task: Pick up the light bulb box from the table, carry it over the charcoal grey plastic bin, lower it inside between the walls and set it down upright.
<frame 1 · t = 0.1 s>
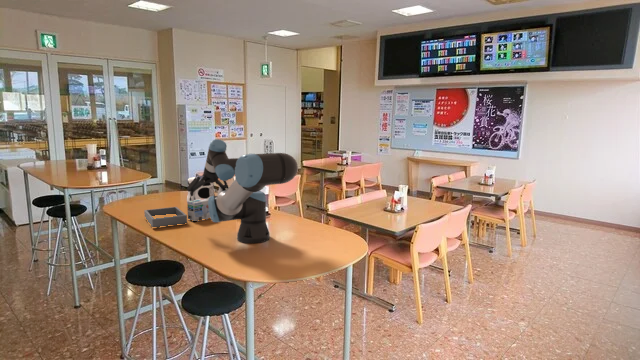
hand: (205, 198, 198), 15 cm above the table, tool tilted 35°, fingers open, 13 cm apart
milk container: (201, 206, 244), on the table
grey bin: (165, 221, 209), on the table
light bulb box: (199, 219, 215), on the table
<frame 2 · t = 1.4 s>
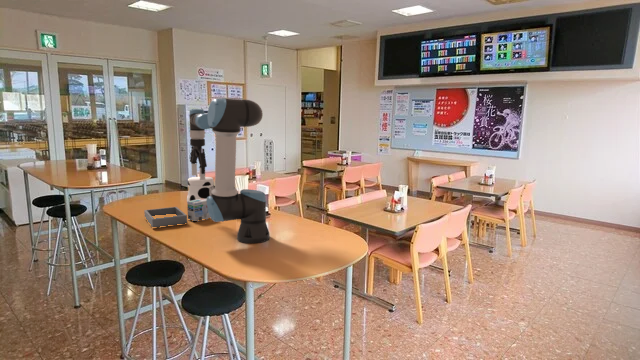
hand: (198, 177, 210), 24 cm above the table, tool pointing down, fingers open, 13 cm apart
nothing on the table moved.
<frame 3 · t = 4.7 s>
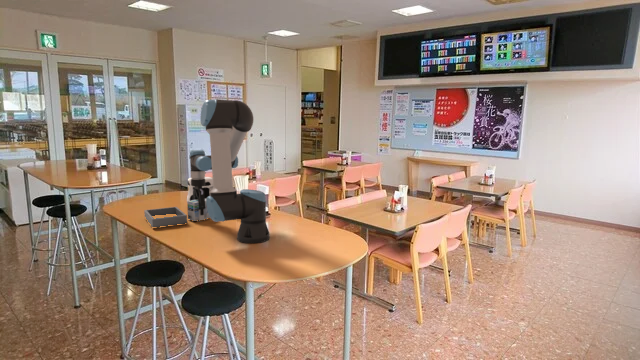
hand: (199, 218, 215), 0 cm above the table, tool pointing down, fingers closed on light bulb box, 8 cm apart
light bulb box: (199, 219, 215), on the table, touching gripper
everything else where it was.
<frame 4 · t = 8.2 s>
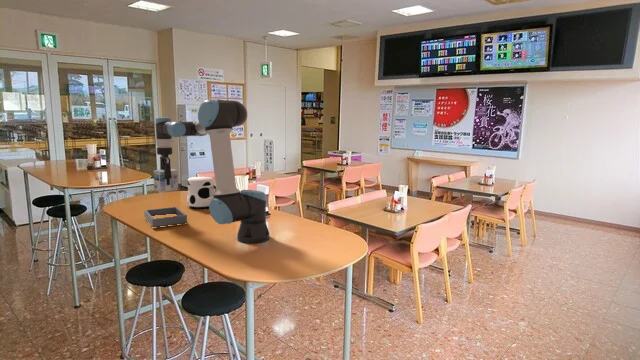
hand: (166, 189, 207), 18 cm above the table, tool pointing down, fingers closed on light bulb box, 8 cm apart
light bulb box: (166, 190, 207), point 17 cm above the table, touching gripper
everything else where it was.
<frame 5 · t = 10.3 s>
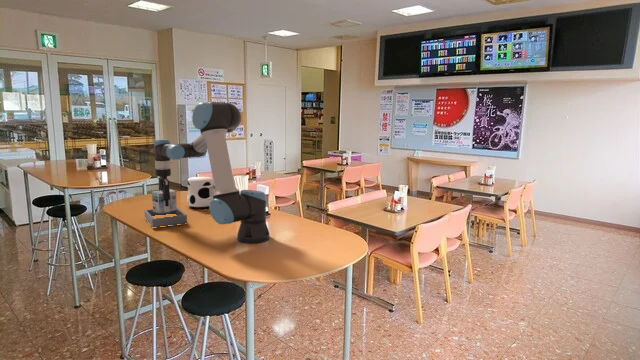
hand: (164, 210, 208), 6 cm above the table, tool pointing down, fingers closed on light bulb box, 8 cm apart
light bulb box: (165, 211, 208), point 6 cm above the table, touching gripper
everything else where it was.
when the fingers open (3 cm above the table, at t = 11.8 s): light bulb box drops 2 cm, resting on grey bin.
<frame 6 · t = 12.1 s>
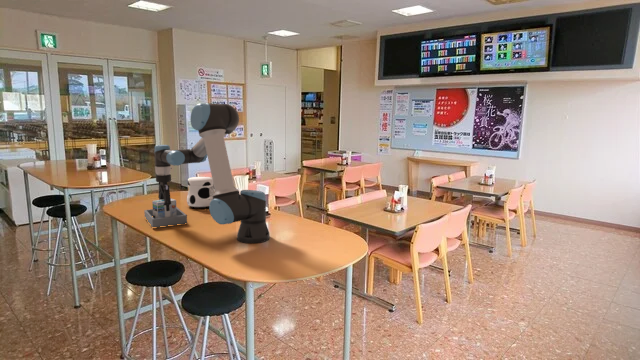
hand: (165, 214, 208), 4 cm above the table, tool pointing down, fingers open, 11 cm apart
light bulb box: (165, 220, 209), point 1 cm above the table, touching grey bin
everything else where it was.
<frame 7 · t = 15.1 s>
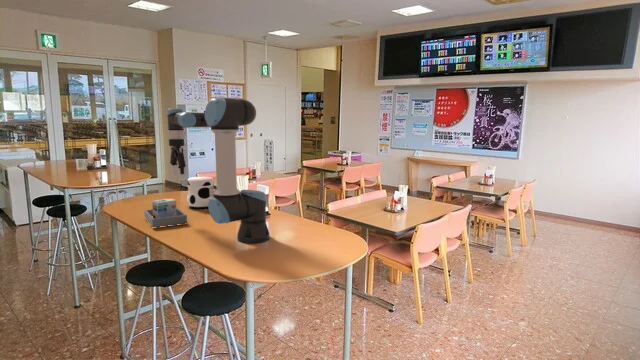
hand: (178, 178, 205), 24 cm above the table, tool pointing down, fingers open, 13 cm apart
nothing on the table moved.
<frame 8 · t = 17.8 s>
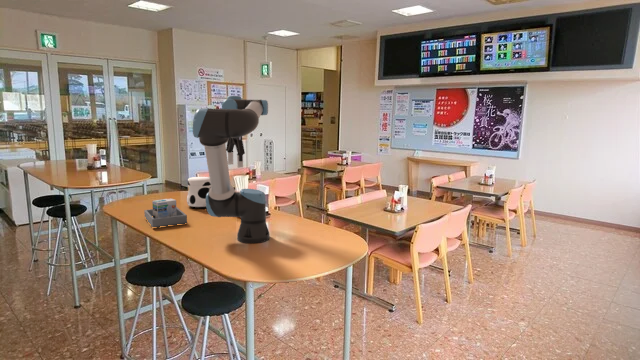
hand: (235, 165, 207), 31 cm above the table, tool pointing down, fingers open, 13 cm apart
nothing on the table moved.
at the end: light bulb box inside the target area on the grey bin (0.3 cm from its centre), point 0.8 cm above the grey bin's base; light bulb box tilted 0°; the gripper is holding nothing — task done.
